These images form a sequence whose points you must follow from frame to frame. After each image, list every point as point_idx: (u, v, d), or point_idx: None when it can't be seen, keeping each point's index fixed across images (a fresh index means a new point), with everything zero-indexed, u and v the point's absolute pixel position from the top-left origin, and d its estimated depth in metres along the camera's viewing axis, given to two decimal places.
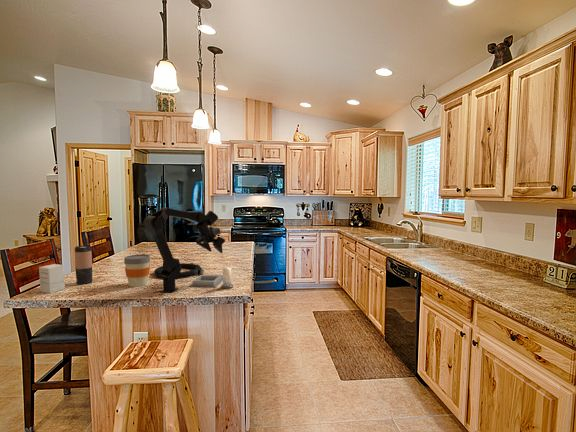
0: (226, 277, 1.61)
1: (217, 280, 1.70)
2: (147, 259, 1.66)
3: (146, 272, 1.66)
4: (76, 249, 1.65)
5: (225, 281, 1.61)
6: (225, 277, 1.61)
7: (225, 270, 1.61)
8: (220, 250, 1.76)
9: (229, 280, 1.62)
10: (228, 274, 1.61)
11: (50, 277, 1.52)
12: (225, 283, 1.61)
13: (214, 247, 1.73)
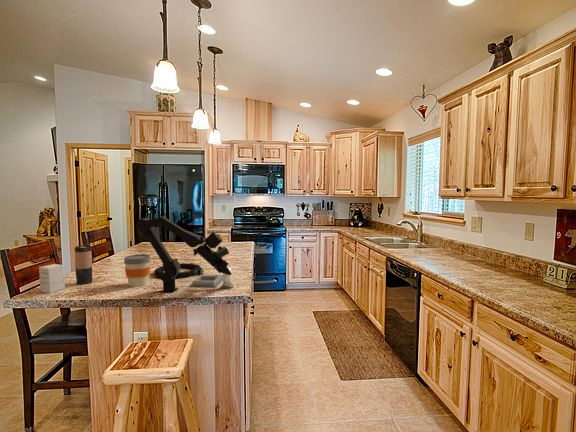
0: (226, 277, 1.61)
1: (217, 280, 1.70)
2: (147, 259, 1.66)
3: (146, 272, 1.66)
4: (76, 249, 1.65)
5: (225, 281, 1.61)
6: (225, 277, 1.61)
7: None
8: (227, 272, 1.60)
9: (229, 280, 1.62)
10: None
11: (50, 277, 1.52)
12: (225, 283, 1.61)
13: None
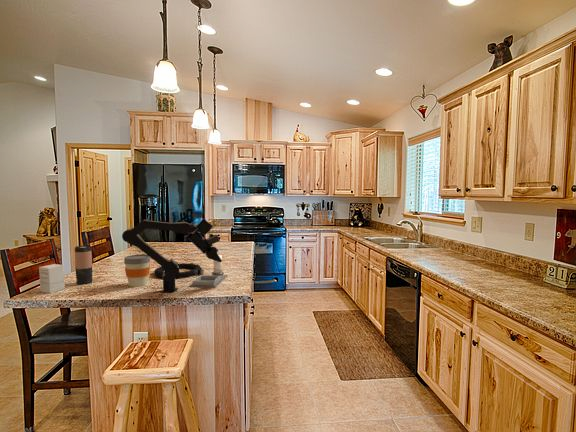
0: (216, 264, 1.63)
1: (217, 280, 1.70)
2: (147, 259, 1.66)
3: (146, 272, 1.66)
4: (76, 249, 1.65)
5: (215, 268, 1.64)
6: (216, 264, 1.63)
7: None
8: (217, 259, 1.62)
9: (219, 267, 1.64)
10: None
11: (50, 277, 1.52)
12: (215, 270, 1.64)
13: None
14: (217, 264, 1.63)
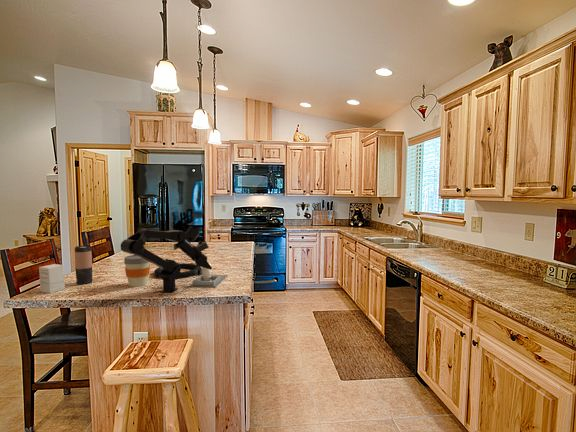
0: (206, 272, 1.68)
1: (217, 280, 1.70)
2: None
3: (146, 272, 1.66)
4: (76, 249, 1.65)
5: (205, 276, 1.68)
6: (205, 272, 1.68)
7: None
8: (207, 267, 1.65)
9: (208, 275, 1.69)
10: (207, 269, 1.68)
11: (50, 277, 1.52)
12: (205, 278, 1.68)
13: None
14: (206, 272, 1.68)
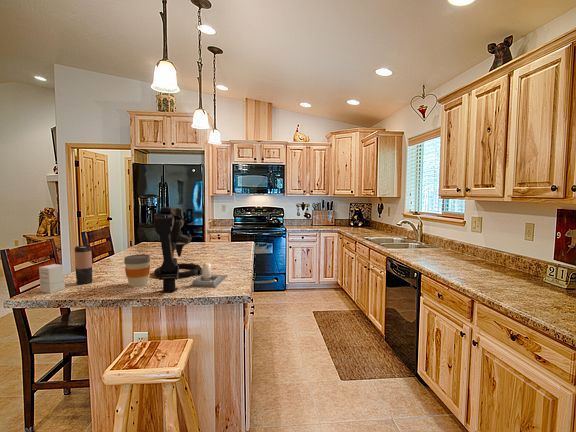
0: (206, 272, 1.68)
1: (217, 280, 1.70)
2: (147, 259, 1.66)
3: (146, 272, 1.66)
4: (76, 249, 1.65)
5: (205, 276, 1.68)
6: (205, 272, 1.68)
7: (205, 265, 1.68)
8: None
9: (208, 275, 1.69)
10: (207, 269, 1.68)
11: (50, 277, 1.52)
12: (205, 278, 1.68)
13: None
14: (206, 272, 1.68)
